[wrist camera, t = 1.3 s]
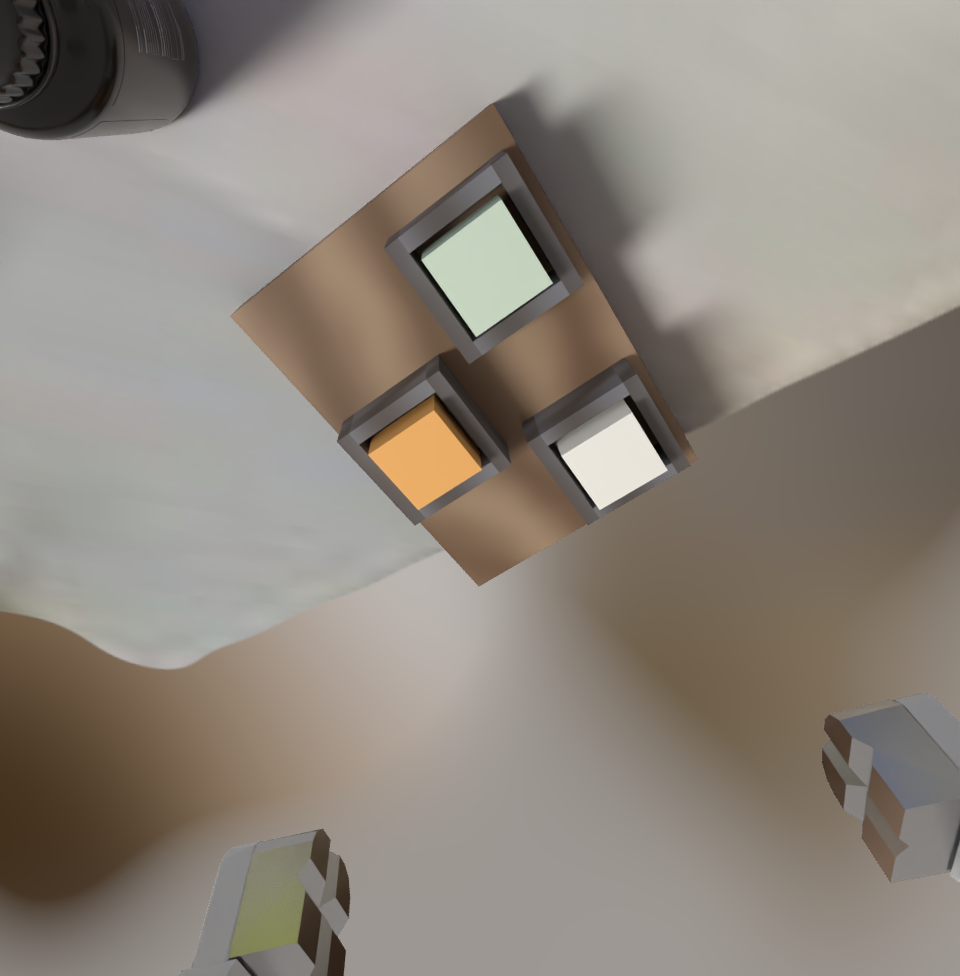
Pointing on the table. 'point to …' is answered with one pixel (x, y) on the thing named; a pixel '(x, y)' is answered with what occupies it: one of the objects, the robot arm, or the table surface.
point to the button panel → (463, 352)
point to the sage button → (486, 266)
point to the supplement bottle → (94, 66)
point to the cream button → (610, 455)
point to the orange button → (425, 453)
